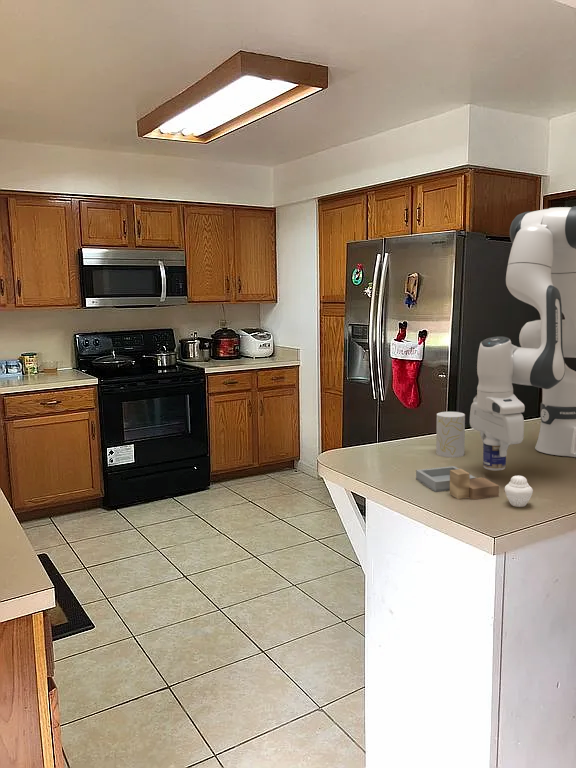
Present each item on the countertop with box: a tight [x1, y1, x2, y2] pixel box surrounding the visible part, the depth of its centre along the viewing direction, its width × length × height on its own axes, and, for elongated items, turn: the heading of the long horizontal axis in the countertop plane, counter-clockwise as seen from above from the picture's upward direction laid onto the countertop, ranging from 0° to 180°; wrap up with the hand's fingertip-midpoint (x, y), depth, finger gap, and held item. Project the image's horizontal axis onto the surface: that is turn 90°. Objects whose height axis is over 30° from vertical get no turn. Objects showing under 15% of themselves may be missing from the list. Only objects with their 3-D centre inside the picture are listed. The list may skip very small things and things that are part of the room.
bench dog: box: [449, 468, 471, 500], centre depth 155 cm, size 3×4×6 cm
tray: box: [415, 465, 477, 493], centre depth 165 cm, size 11×11×2 cm
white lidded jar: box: [504, 474, 534, 508], centre depth 148 cm, size 6×6×7 cm
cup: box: [435, 411, 466, 458], centre depth 192 cm, size 8×8×12 cm
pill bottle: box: [482, 431, 507, 471], centre depth 169 cm, size 6×6×10 cm
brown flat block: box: [468, 477, 500, 501], centre depth 156 cm, size 7×7×3 cm
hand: (494, 452), depth 169 cm, fingers closed on pill bottle, 6 cm apart
